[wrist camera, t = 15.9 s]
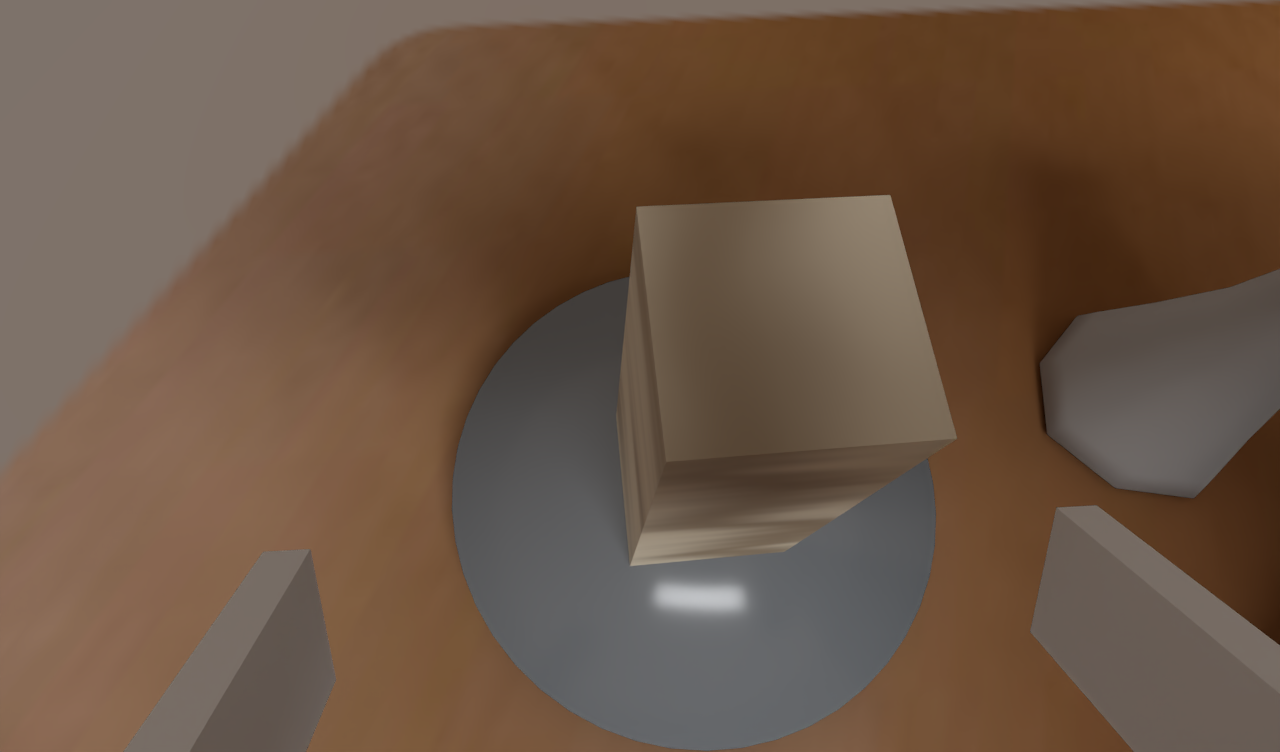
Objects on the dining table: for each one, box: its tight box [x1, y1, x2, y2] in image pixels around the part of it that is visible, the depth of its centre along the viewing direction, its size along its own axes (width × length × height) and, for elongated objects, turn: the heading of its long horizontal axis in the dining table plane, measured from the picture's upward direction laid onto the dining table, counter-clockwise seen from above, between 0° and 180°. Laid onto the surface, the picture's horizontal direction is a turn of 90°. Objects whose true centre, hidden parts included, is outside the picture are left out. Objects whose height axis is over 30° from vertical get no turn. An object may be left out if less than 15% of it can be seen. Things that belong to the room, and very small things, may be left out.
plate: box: [452, 277, 936, 751], centre depth 25 cm, size 16×16×1 cm
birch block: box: [616, 195, 957, 566], centre depth 19 cm, size 5×5×12 cm
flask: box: [1040, 269, 1280, 498], centre depth 23 cm, size 7×7×10 cm
